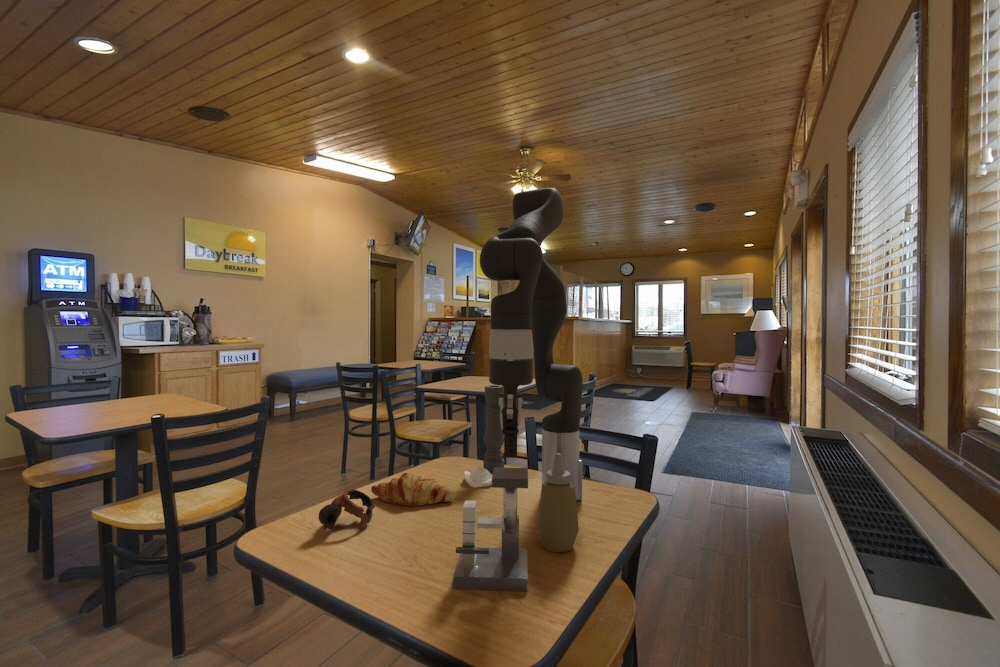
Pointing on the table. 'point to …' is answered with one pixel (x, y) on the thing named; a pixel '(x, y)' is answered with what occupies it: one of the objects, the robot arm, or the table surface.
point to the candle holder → (493, 429)
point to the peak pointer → (472, 550)
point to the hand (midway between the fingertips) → (510, 456)
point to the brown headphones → (347, 509)
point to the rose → (478, 477)
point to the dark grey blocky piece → (506, 498)
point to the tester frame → (490, 560)
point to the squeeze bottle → (558, 509)
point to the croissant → (412, 491)
